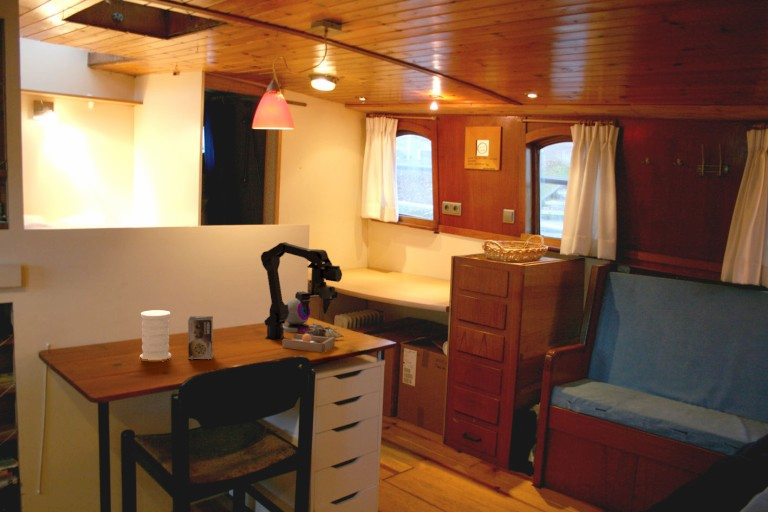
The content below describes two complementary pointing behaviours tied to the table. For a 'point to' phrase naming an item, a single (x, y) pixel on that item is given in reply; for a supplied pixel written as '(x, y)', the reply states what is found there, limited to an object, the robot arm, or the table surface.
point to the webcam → (296, 317)
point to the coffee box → (200, 337)
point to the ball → (306, 338)
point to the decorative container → (155, 335)
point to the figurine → (323, 331)
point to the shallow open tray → (309, 343)
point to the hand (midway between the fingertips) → (315, 314)
